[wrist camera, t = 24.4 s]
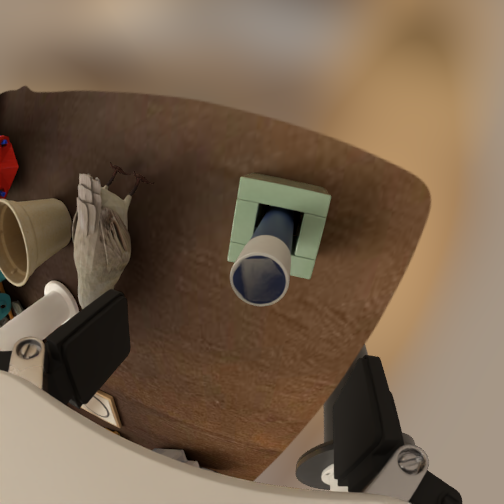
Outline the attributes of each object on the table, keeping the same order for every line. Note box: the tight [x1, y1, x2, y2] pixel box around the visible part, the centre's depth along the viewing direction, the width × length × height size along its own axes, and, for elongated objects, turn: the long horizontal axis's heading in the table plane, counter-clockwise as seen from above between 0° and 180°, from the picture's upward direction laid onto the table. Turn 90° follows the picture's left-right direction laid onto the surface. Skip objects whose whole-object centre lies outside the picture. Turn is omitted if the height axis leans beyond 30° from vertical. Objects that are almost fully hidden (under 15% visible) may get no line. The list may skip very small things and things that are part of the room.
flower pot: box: [0, 198, 72, 286], centre depth 23 cm, size 9×9×9 cm
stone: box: [12, 300, 24, 315], centre depth 36 cm, size 12×2×5 cm
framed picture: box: [81, 390, 122, 428], centre depth 39 cm, size 10×10×1 cm
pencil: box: [0, 282, 14, 320], centre depth 35 cm, size 1×1×19 cm
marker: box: [230, 206, 294, 306], centre depth 17 cm, size 2×2×13 cm
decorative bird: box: [72, 162, 154, 309], centre depth 23 cm, size 5×16×8 cm, turn 159°
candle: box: [0, 281, 79, 351], centre depth 20 cm, size 7×7×25 cm
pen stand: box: [227, 173, 331, 279], centre depth 21 cm, size 6×6×5 cm
